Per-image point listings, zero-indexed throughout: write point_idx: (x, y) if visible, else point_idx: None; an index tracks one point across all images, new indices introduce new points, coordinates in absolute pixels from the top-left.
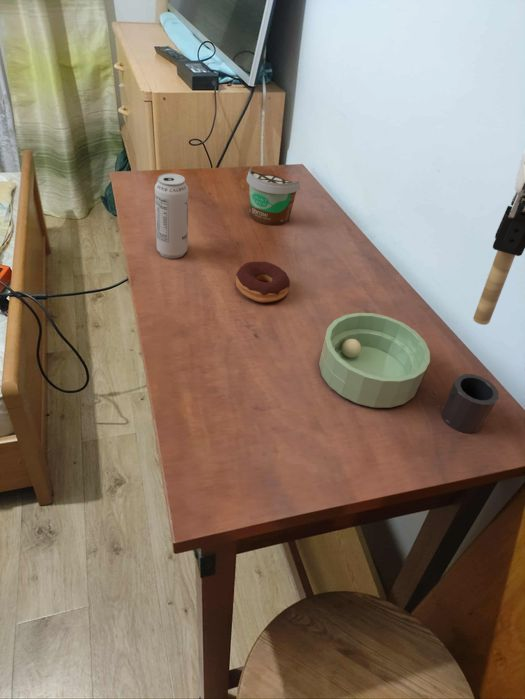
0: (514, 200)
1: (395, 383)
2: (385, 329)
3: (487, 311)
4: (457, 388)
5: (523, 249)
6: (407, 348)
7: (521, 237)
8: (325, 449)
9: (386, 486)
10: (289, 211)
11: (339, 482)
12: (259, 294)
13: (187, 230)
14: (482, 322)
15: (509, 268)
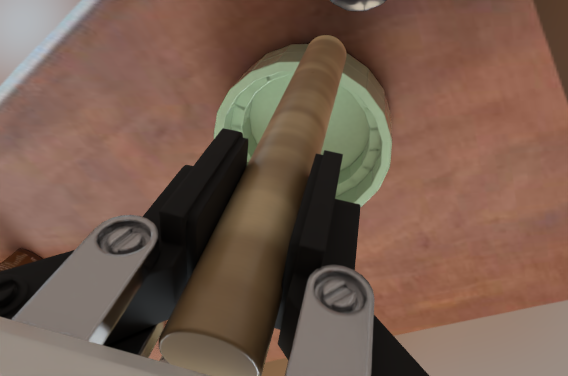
0: (159, 334)
1: (386, 118)
2: (229, 126)
3: (342, 69)
4: (373, 6)
5: (339, 167)
6: (254, 83)
7: (356, 239)
8: (484, 167)
9: (548, 84)
10: (12, 261)
11: (544, 146)
12: None
13: (167, 362)
14: (345, 58)
15: (309, 117)
